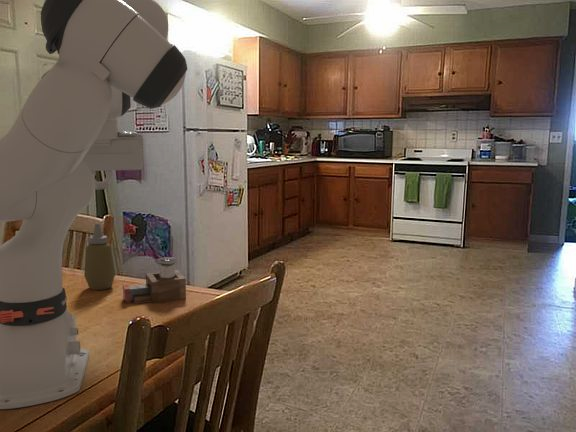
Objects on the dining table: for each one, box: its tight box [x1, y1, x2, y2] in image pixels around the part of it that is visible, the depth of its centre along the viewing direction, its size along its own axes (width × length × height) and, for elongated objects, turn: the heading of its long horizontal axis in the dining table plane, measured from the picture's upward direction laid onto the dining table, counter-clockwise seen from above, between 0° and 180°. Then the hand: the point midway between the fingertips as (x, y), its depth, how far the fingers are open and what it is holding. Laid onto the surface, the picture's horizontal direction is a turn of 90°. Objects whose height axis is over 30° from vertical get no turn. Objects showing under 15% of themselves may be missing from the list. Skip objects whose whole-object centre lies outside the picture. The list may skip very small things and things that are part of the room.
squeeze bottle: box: [84, 222, 116, 291], centre depth 140 cm, size 8×8×18 cm
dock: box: [133, 269, 187, 304], centre depth 135 cm, size 9×13×6 cm
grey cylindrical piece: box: [157, 256, 177, 280], centre depth 135 cm, size 5×5×10 cm
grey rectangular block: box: [122, 284, 151, 304], centre depth 133 cm, size 4×8×4 cm, turn 116°
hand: (101, 189), depth 124 cm, fingers closed
